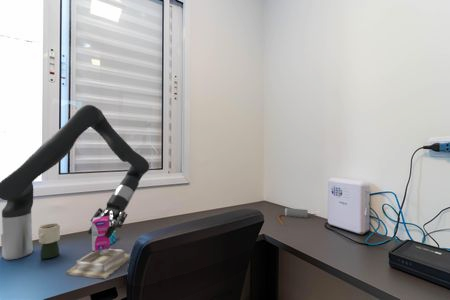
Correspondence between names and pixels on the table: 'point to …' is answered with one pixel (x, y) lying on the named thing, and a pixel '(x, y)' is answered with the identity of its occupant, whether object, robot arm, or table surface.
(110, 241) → the gear
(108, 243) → the supplement box
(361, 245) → the table surface
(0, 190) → the robot arm
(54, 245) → the character mug
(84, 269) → the plate
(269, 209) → the table surface
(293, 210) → the motor
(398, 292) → the table surface
